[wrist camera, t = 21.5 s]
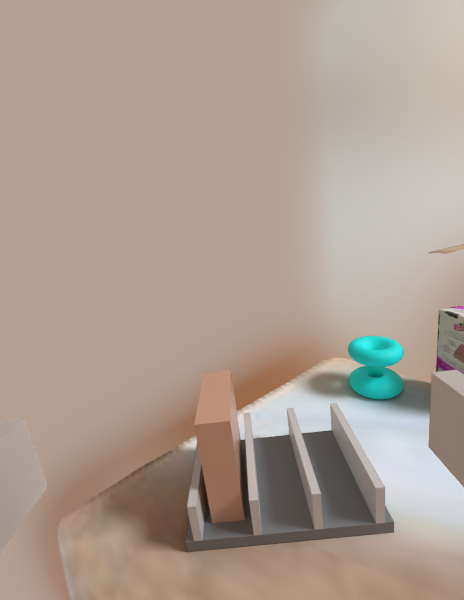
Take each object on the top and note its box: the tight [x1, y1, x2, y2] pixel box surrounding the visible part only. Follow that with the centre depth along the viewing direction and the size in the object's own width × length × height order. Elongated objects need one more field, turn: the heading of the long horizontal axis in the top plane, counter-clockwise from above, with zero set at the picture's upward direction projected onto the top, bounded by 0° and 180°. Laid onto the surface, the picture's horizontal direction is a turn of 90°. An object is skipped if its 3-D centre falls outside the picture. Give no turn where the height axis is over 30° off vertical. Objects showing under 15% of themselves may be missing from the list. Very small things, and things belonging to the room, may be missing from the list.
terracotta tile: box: [195, 370, 245, 523], centre depth 41 cm, size 4×12×14 cm, turn 0°
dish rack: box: [185, 403, 394, 552], centre depth 42 cm, size 24×16×6 cm, turn 90°
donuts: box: [348, 336, 404, 399], centre depth 61 cm, size 10×10×10 cm
